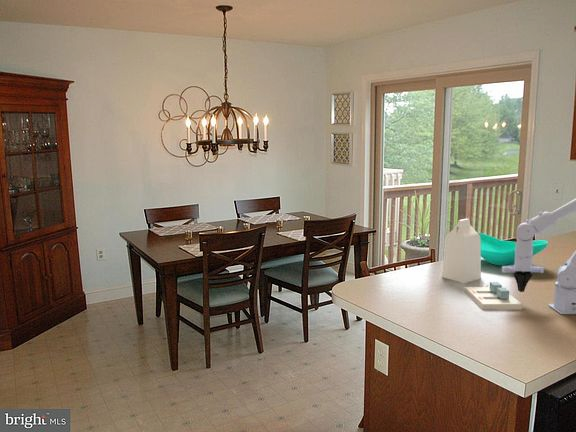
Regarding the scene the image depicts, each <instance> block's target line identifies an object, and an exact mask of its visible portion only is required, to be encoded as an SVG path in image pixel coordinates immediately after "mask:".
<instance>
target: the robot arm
mask: <svg viewBox="0 0 576 432" xmlns="http://www.w3.org/2000/svg"><path fill="white" fill-rule="evenodd" d="M574 212H576V198H574V199H572V200H570V201H568V202H567V203H566V204H564V205H562V206H560V207H558V208H556V209H555V210H553V211H547V210H546V211H544V212H543V211H539V212H538V213H537V214H538V215H536V216H534V217H532V218H530V219H526V220H525V222H522V223H520V224H519V225H518V226H517V228H516V236H517V237H516V241H515V242H516V249H515V264H513V265H511V266H501V272H502V273H504V274H506V273H512V275H513V277H514V279H515V281H516V285H517V286H516V287H517V291H518V292H520V293H525V290H526V287H527V285H528V283H529V281H530V280H531V278H532V277H533V274H532V273H540V274H543V273H545V272H544V271H545V268H544V267H543V266H538V265H537V266H535V265H532V263H533V256H532V254H533V241H534V239H533V238H534V236H535V235H536V234H538V235H539V234H541V233H542V232H544V231H546V230H548V229H550V228H552V227H554V226H555V225H556V223H557V220H560V219H562V218H564V217H566V216H567V215H570V214H572V213H574ZM556 274H557V277H556V280H557V281H555V283H554V293H553V303H548V306H549V308H551V309H553V310H555V311H556V312H557V313H559V314H561V315H576V250H575V251H574V252H573V253H572V255H571V256H570V257H569V258H568V259H567V261H566V262H565V263H563V264H562V265H560V266H559V267H558V268H557V271H556Z"/></svg>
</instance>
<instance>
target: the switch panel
mask: <svg viewBox="0 0 576 432" xmlns="http://www.w3.org/2000/svg"><path fill="white" fill-rule="evenodd" d="M489 288H490V286H464V293H465V294H466V295H467V296H468V297H469V296H470V297H469V298H470V299H472V300H473V301H474V303H476V304H477V305H478V306H479V307H480V308H481V310H523V303H522V302H520V301H519V300H518V299H517V298H515V297H514V296H513V295H511V294H510V293H509V299H500V298H499V297H498V296H497V293H493V292H492V291H491V290H489Z"/></svg>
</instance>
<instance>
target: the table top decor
mask: <svg viewBox="0 0 576 432" xmlns="http://www.w3.org/2000/svg"><path fill="white" fill-rule="evenodd" d="M476 232H477V231H476ZM477 233H478V234H479V236H480V239H481V259H483V260H485V261H486V262H488V263H489V264H492V265H494V266H500V267H502V266H513V265H514V264H515V249H516V242H517V241H509V240H502V239H499V238H496V237H494V236H491V235H488V234H485V233H482V232H477ZM548 244H549V241H547V240H544V239H543V240H542V239H540V240H533V254H532V257H533V256H535V255H537V254H538V253H540V252H542V251H544V250H545V249H546V248H547V245H548Z"/></svg>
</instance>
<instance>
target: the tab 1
mask: <svg viewBox="0 0 576 432" xmlns="http://www.w3.org/2000/svg"><path fill="white" fill-rule="evenodd" d="M489 287H490V288H489V290H491V291H492V292H493V293H497V288H503V285H502V284H501V283H499V282H498V281H490V282H489Z"/></svg>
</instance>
